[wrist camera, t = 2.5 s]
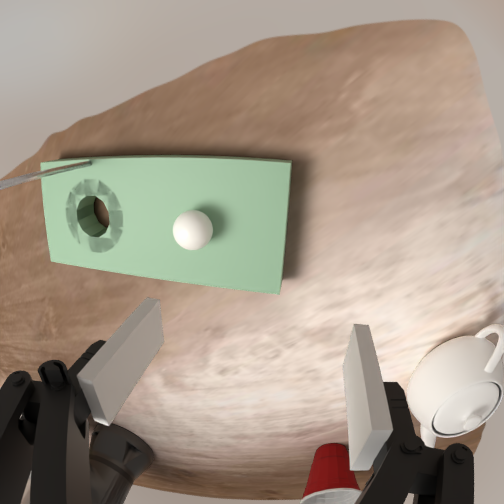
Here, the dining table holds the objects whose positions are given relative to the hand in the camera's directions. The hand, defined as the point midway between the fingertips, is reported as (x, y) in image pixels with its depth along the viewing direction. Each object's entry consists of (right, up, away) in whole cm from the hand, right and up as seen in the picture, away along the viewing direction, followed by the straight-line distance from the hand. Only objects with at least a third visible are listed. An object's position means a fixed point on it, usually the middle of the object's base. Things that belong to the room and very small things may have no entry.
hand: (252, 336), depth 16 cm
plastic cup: (+15, -32, +33) cm, 48 cm away
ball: (-6, +6, +16) cm, 18 cm away
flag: (-21, +15, +17) cm, 31 cm away
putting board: (-12, +9, +22) cm, 27 cm away
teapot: (+30, -14, +24) cm, 40 cm away
